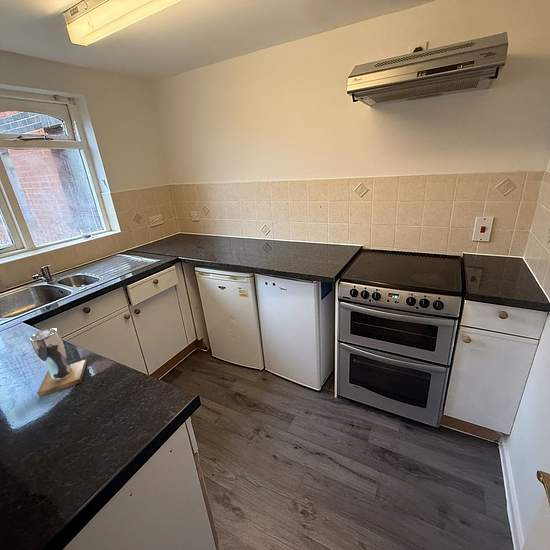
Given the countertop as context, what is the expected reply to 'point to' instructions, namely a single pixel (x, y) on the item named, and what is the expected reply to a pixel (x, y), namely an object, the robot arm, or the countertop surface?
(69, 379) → the board
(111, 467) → the countertop surface
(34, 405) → the countertop surface
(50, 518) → the countertop surface
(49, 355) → the beer glass
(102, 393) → the countertop surface
